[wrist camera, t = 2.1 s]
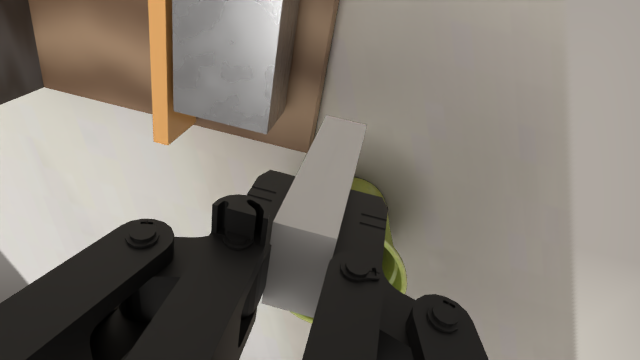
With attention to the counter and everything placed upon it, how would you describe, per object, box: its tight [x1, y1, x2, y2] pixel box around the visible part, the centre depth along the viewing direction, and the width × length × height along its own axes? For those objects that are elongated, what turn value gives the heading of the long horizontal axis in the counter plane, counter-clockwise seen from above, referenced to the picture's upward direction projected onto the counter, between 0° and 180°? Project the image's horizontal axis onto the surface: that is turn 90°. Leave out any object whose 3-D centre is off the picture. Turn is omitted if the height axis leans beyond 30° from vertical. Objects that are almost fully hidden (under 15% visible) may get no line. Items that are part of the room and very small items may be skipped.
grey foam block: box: [172, 0, 300, 134], centre depth 25 cm, size 8×6×4 cm
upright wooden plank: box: [148, 0, 196, 145], centre depth 25 cm, size 13×1×4 cm, turn 170°
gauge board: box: [0, 0, 339, 153], centre depth 27 cm, size 14×24×6 cm, turn 80°
